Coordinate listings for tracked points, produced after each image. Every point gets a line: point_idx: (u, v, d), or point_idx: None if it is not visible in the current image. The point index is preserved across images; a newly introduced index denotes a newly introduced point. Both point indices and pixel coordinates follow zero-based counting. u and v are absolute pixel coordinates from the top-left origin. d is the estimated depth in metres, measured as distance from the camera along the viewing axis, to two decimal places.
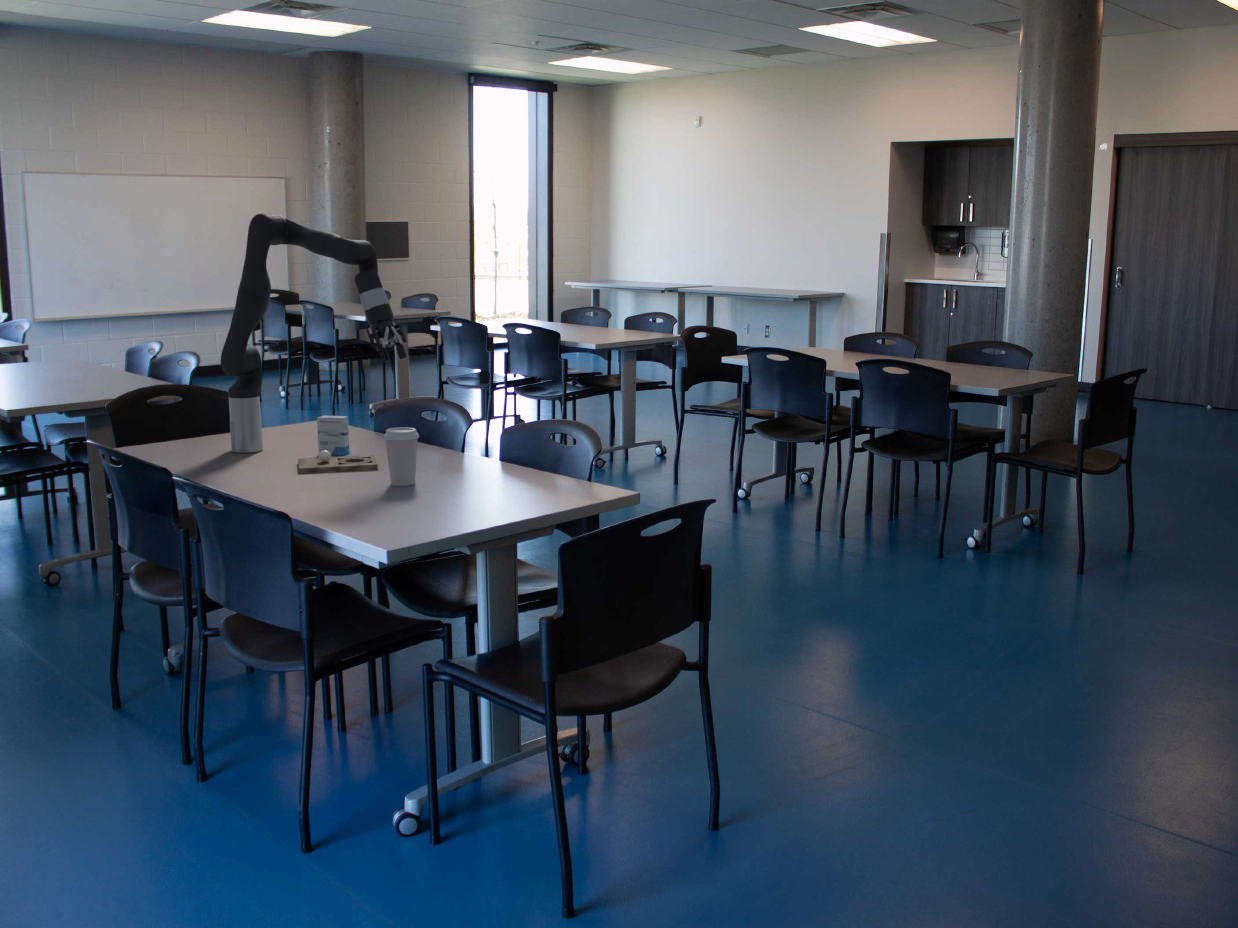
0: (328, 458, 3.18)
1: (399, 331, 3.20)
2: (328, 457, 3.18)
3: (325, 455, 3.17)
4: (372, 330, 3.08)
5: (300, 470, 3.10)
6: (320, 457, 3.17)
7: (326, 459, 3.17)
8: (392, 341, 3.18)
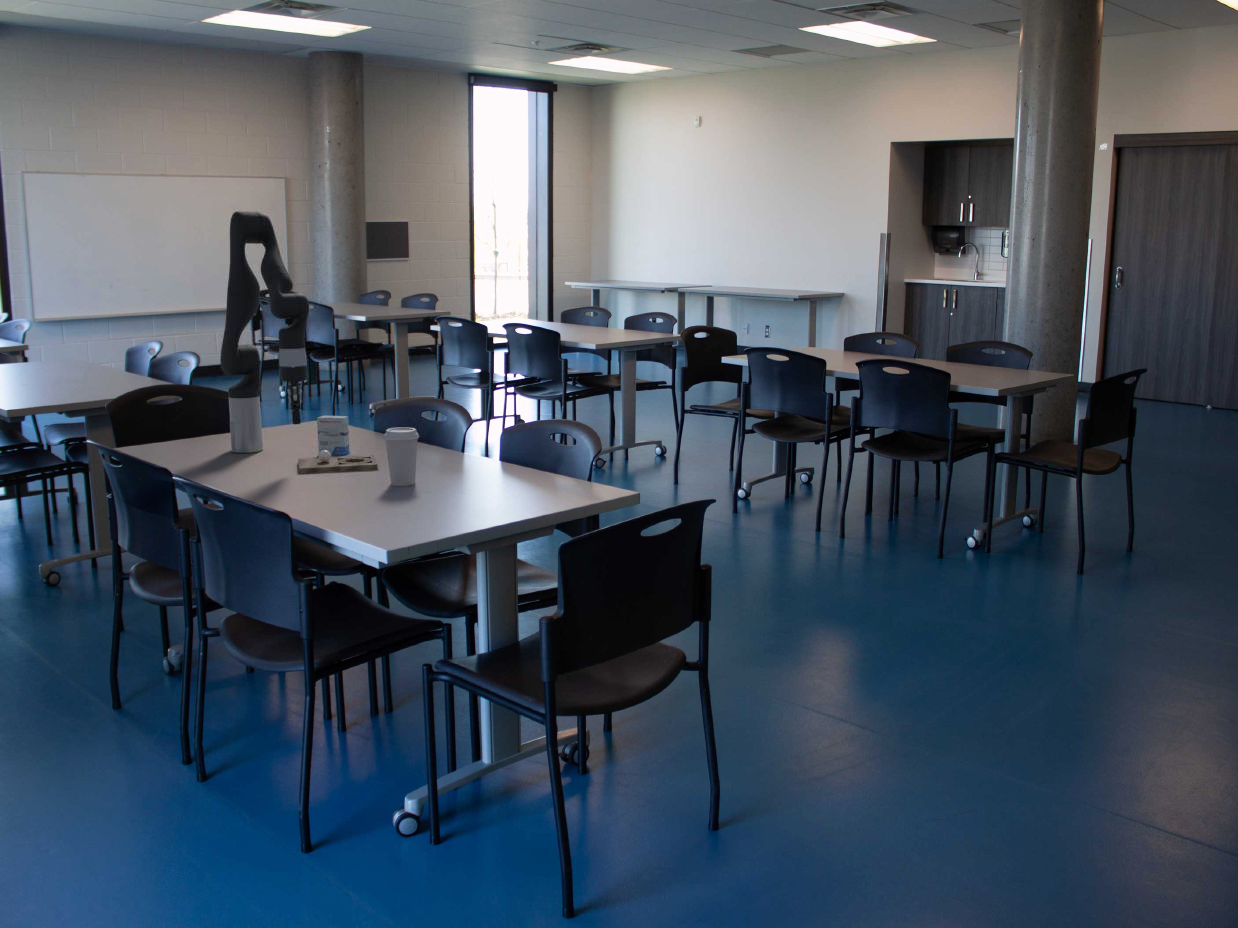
0: (328, 458, 3.18)
1: None
2: (328, 457, 3.18)
3: (325, 455, 3.17)
4: (298, 399, 3.08)
5: (300, 470, 3.10)
6: (320, 457, 3.17)
7: (326, 459, 3.17)
8: None
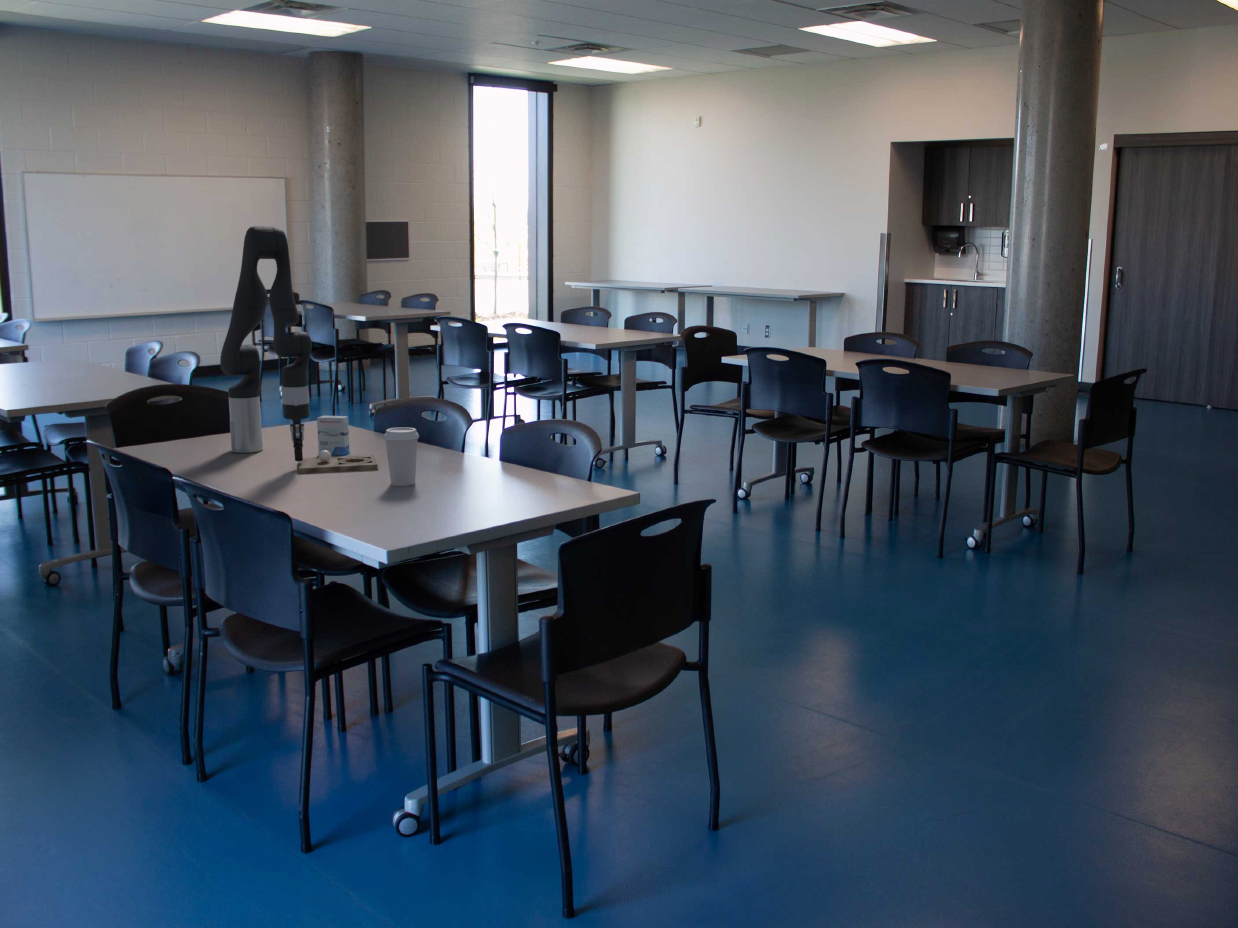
0: (328, 458, 3.18)
1: (300, 432, 3.19)
2: (328, 457, 3.18)
3: (325, 455, 3.17)
4: (300, 436, 3.10)
5: (300, 470, 3.10)
6: (320, 457, 3.17)
7: (326, 459, 3.17)
8: None
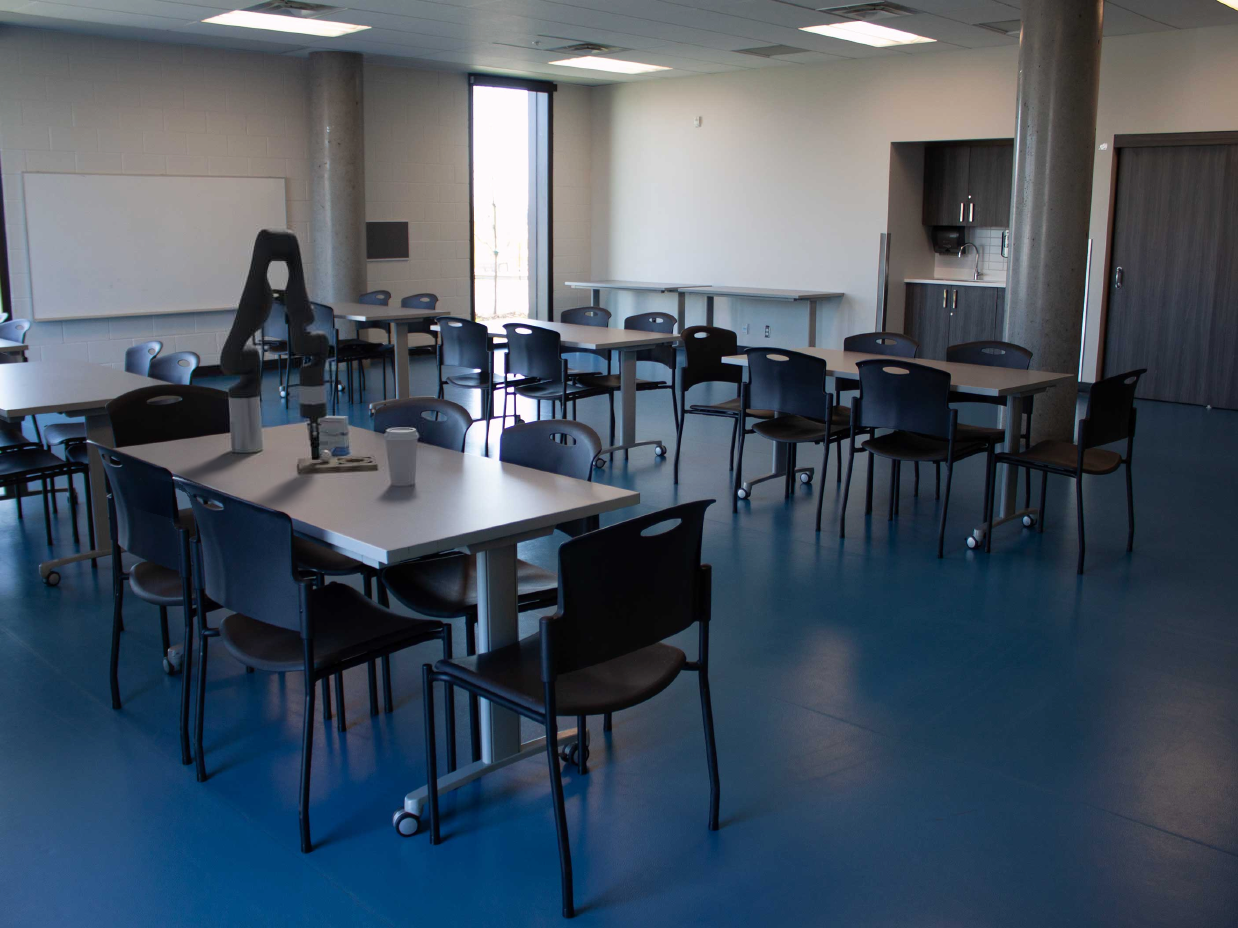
0: (328, 458, 3.18)
1: None
2: (328, 457, 3.18)
3: (326, 455, 3.17)
4: (317, 436, 3.11)
5: (300, 470, 3.10)
6: (321, 457, 3.17)
7: (326, 459, 3.17)
8: None
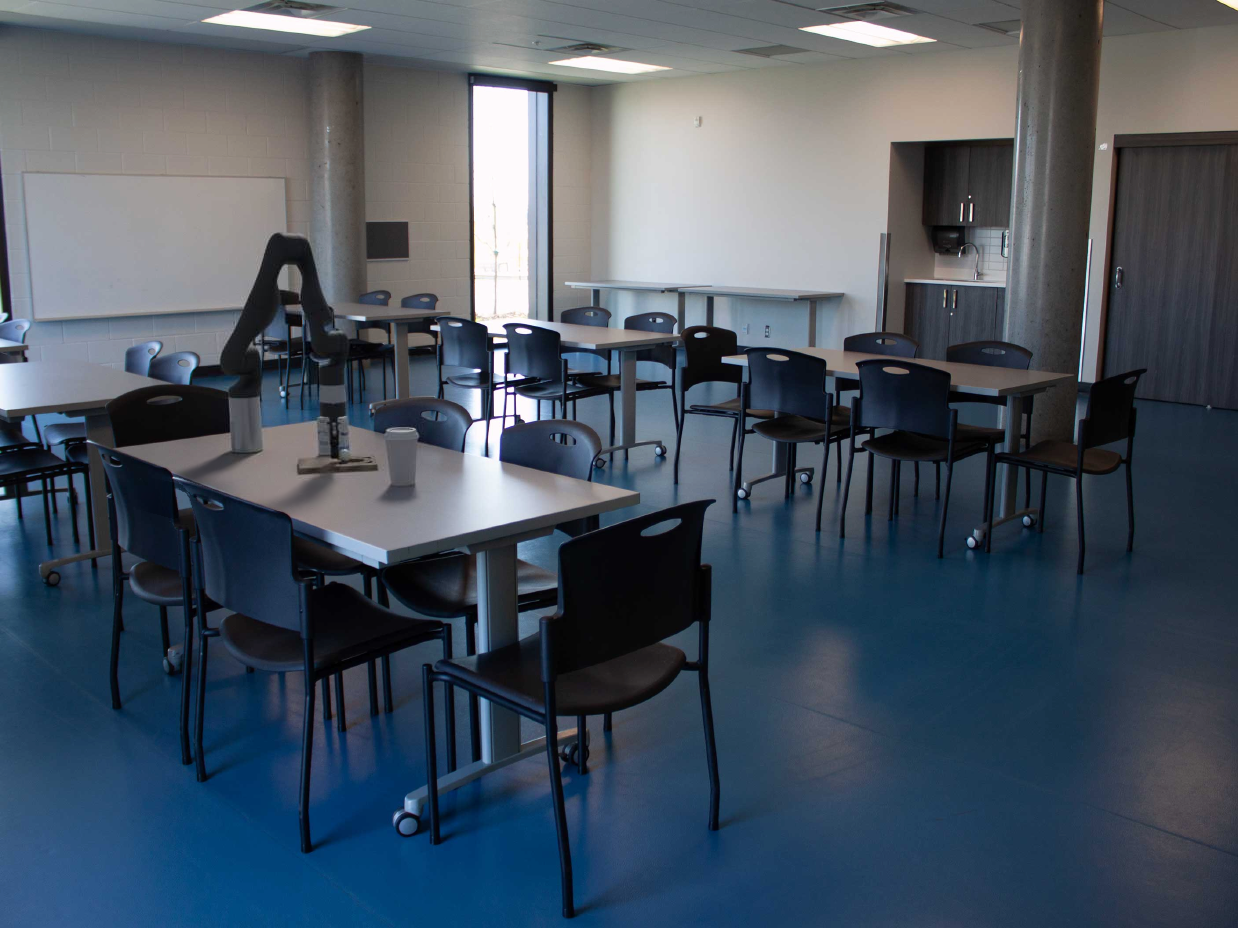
0: (341, 457, 3.19)
1: None
2: (342, 458, 3.19)
3: (346, 457, 3.19)
4: (337, 435, 3.13)
5: (300, 470, 3.10)
6: (346, 452, 3.19)
7: (342, 455, 3.19)
8: None
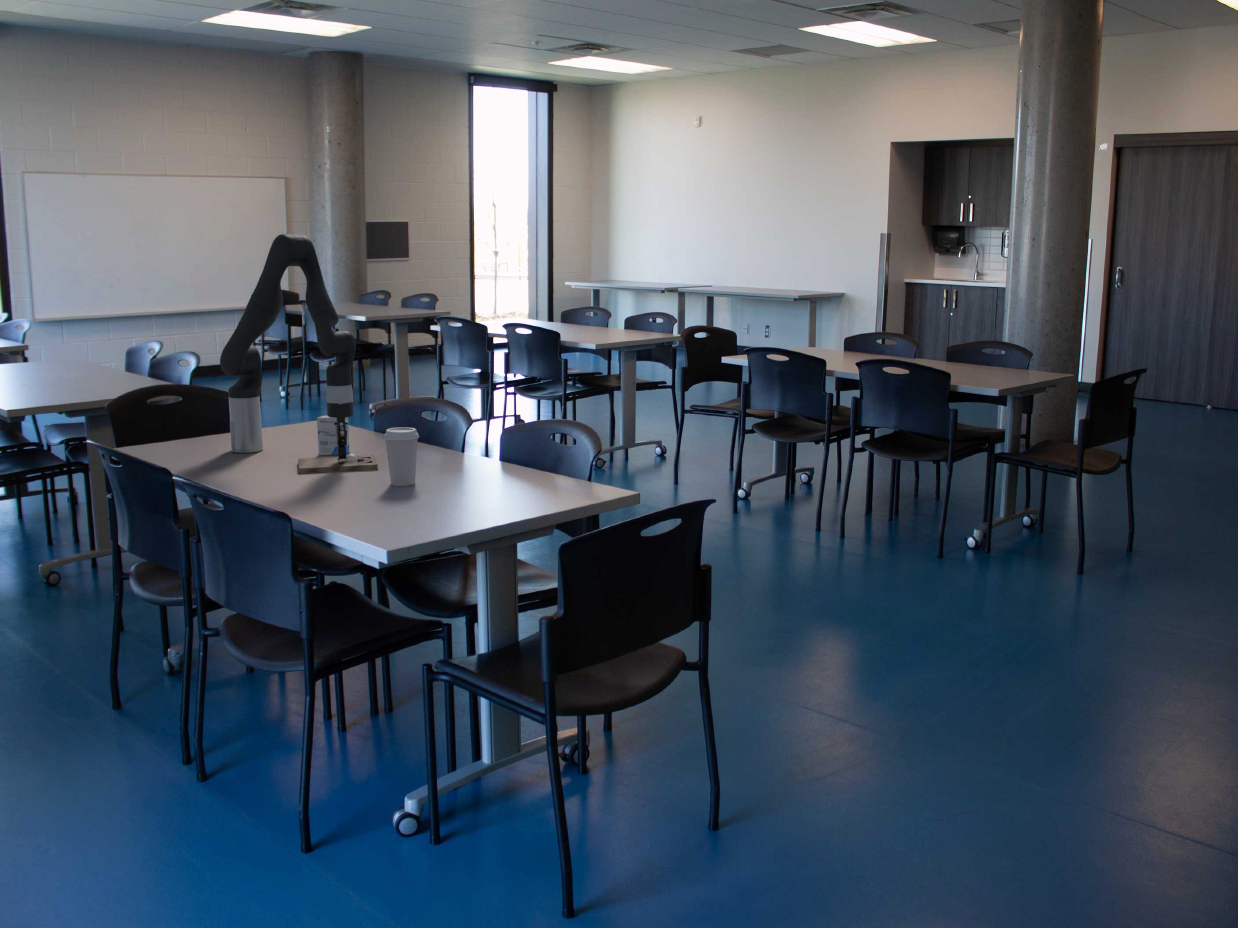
0: (349, 458, 3.20)
1: None
2: (349, 459, 3.20)
3: None
4: (344, 435, 3.14)
5: (300, 470, 3.10)
6: None
7: (351, 458, 3.20)
8: None
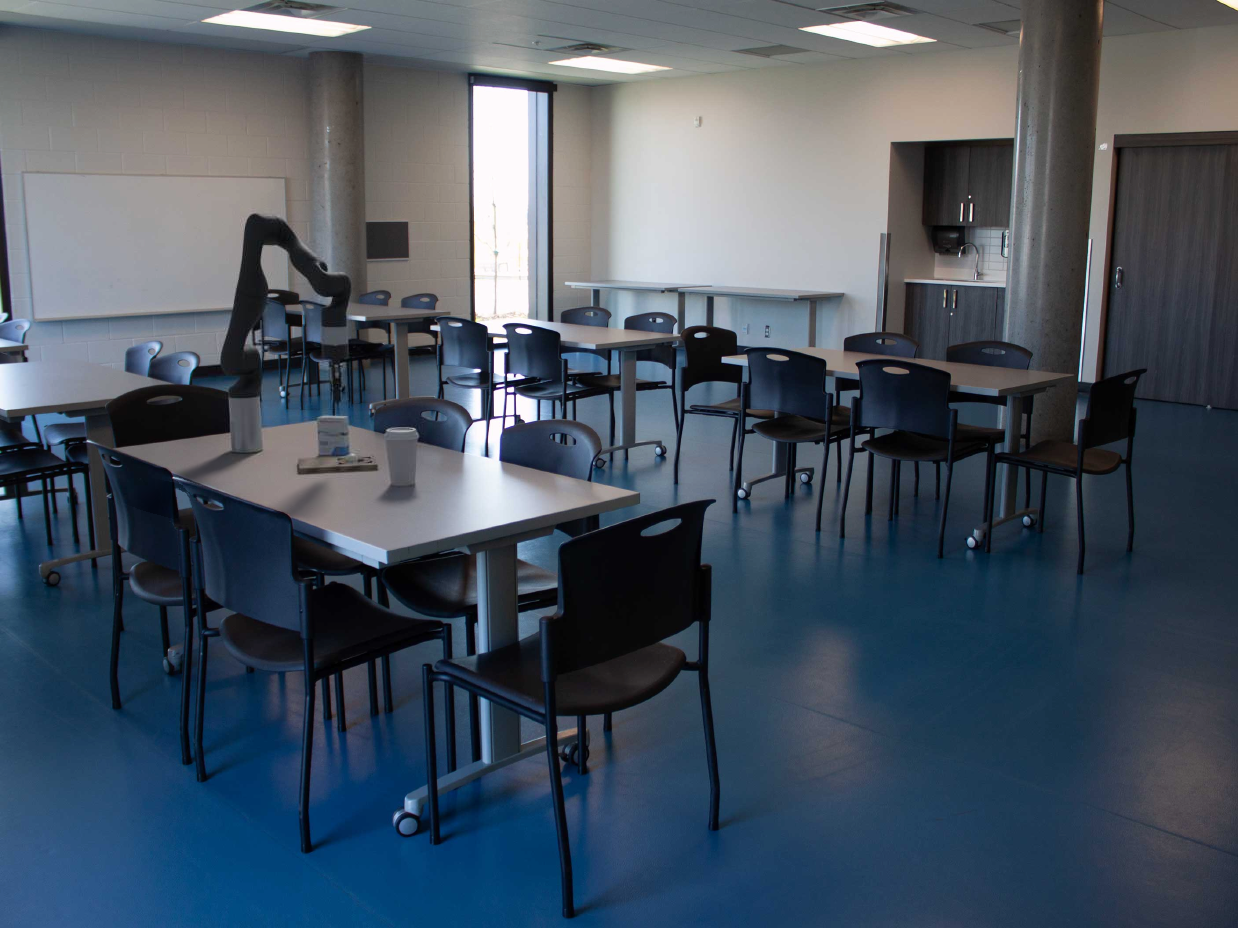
0: (350, 457, 3.20)
1: None
2: (349, 458, 3.20)
3: None
4: (339, 377, 3.11)
5: (300, 470, 3.10)
6: None
7: (352, 458, 3.20)
8: None
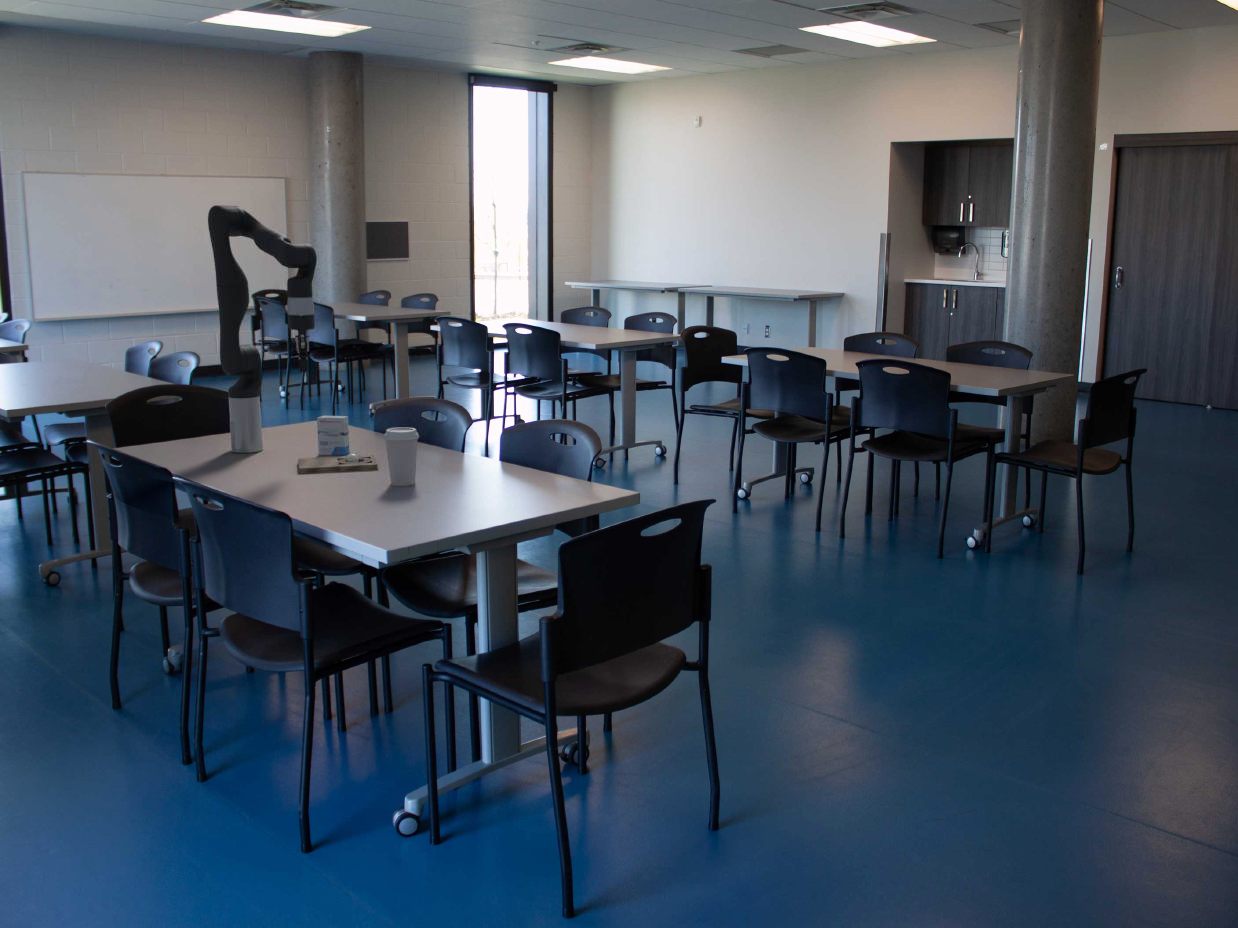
0: (351, 457, 3.20)
1: None
2: (350, 458, 3.20)
3: (351, 461, 3.20)
4: (305, 346, 3.16)
5: (300, 470, 3.10)
6: None
7: (353, 457, 3.20)
8: None
